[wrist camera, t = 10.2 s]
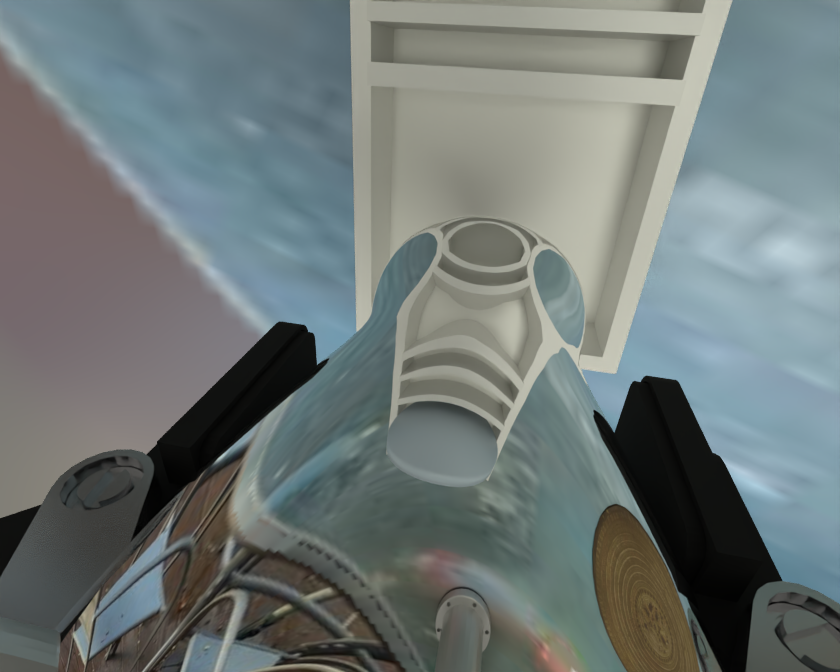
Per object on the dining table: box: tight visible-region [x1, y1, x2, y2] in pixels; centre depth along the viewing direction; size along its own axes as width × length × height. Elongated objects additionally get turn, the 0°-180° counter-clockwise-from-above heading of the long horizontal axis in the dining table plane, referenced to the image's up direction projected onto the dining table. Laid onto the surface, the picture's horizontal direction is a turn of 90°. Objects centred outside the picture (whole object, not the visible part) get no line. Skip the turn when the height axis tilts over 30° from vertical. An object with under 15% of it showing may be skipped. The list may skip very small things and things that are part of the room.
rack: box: [350, 0, 732, 374], centre depth 17 cm, size 22×13×12 cm, turn 177°
